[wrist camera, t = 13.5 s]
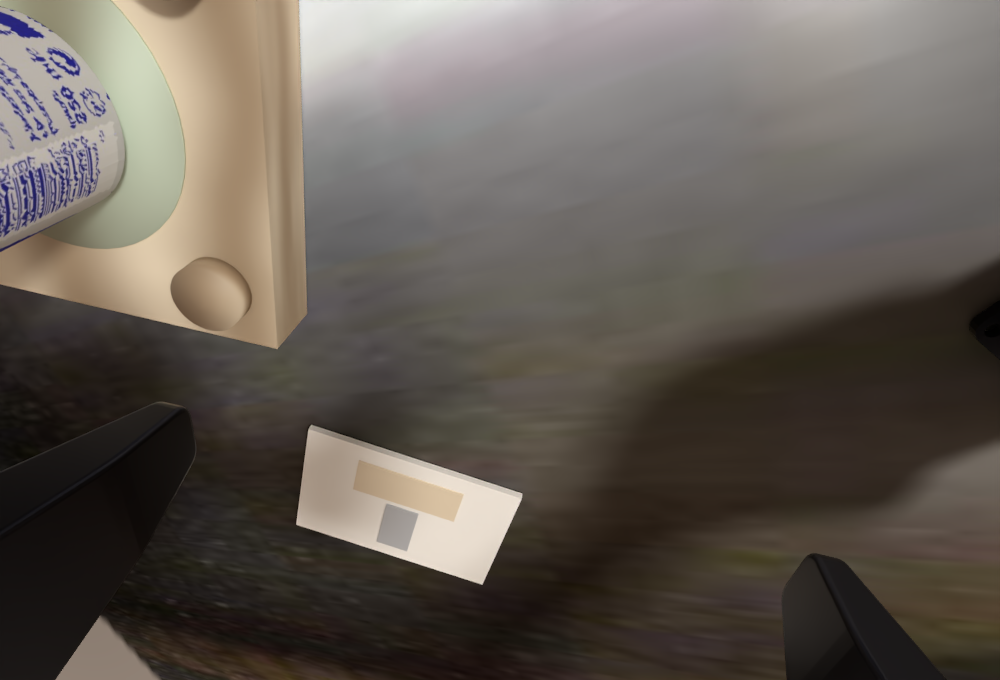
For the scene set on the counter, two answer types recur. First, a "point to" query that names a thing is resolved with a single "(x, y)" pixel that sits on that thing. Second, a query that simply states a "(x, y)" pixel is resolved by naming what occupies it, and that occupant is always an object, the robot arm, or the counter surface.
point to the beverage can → (50, 131)
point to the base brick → (186, 168)
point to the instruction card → (403, 505)
